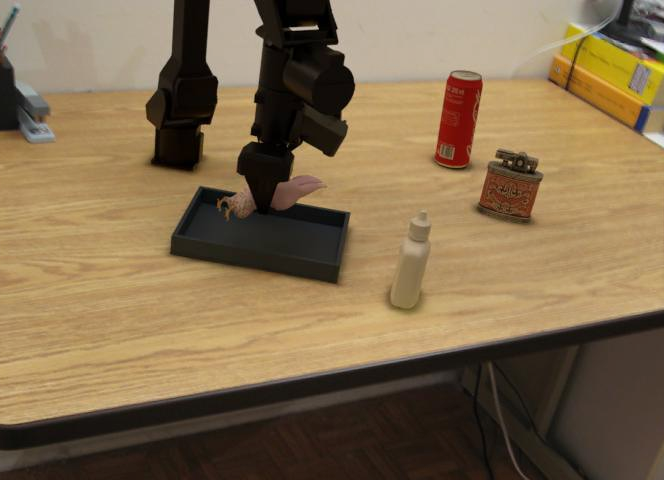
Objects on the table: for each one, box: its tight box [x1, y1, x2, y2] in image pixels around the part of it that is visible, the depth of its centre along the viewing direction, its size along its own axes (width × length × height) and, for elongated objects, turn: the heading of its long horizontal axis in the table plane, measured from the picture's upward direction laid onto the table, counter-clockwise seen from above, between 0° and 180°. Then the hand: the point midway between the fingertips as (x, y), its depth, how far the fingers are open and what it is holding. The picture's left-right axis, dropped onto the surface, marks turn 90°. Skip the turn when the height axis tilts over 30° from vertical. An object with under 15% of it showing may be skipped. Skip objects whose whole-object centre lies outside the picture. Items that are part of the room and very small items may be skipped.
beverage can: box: [434, 69, 484, 169], centre depth 141 cm, size 6×6×15 cm
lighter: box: [476, 147, 544, 225], centre depth 128 cm, size 8×3×10 cm, turn 71°
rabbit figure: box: [217, 174, 329, 220], centre depth 112 cm, size 6×6×15 cm
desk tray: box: [169, 185, 351, 285], centre depth 114 cm, size 21×15×3 cm
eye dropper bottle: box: [389, 209, 432, 310], centre depth 104 cm, size 4×6×12 cm
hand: (267, 201), depth 112 cm, fingers closed on rabbit figure, 7 cm apart
